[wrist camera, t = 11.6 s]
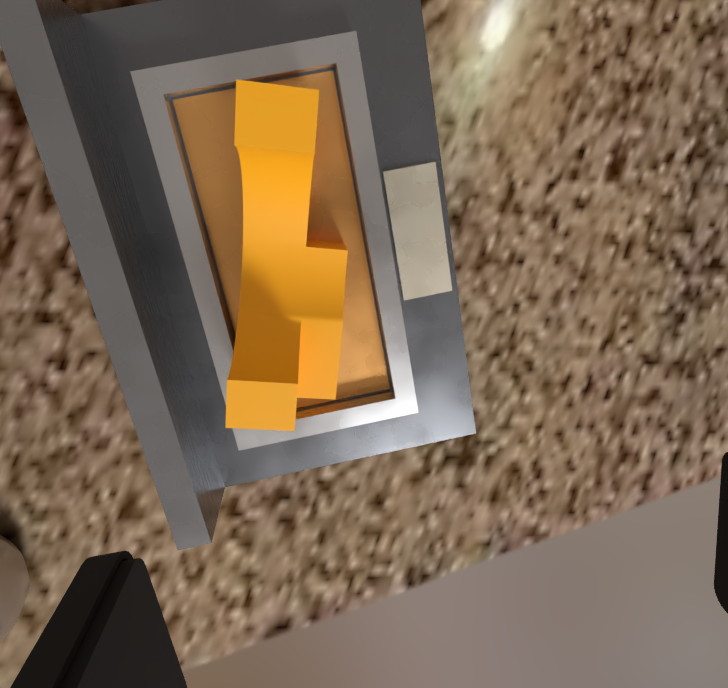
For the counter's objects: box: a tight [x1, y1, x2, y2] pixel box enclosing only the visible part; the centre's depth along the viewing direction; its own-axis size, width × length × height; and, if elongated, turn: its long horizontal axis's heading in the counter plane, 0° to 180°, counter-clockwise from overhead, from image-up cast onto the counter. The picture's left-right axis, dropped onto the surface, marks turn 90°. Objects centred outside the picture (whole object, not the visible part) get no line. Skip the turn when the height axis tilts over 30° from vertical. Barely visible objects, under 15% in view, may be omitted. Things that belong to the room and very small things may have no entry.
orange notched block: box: [225, 79, 348, 431], centre depth 22 cm, size 12×4×6 cm, turn 174°
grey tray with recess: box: [0, 0, 476, 550], centre depth 24 cm, size 15×22×6 cm
